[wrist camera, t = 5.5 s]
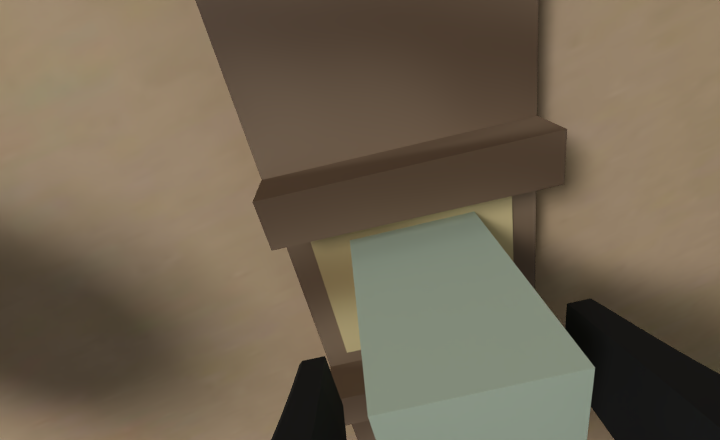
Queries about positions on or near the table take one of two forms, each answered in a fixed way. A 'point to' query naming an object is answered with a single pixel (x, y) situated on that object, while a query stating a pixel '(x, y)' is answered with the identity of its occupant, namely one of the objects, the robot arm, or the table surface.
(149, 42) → the table surface
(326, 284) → the notch rail
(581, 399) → the sage block
